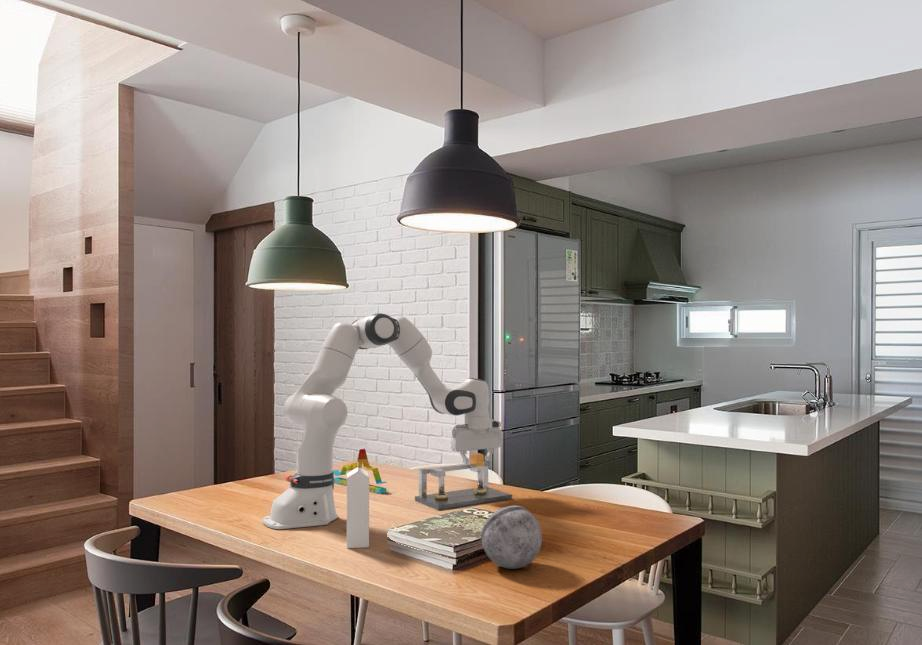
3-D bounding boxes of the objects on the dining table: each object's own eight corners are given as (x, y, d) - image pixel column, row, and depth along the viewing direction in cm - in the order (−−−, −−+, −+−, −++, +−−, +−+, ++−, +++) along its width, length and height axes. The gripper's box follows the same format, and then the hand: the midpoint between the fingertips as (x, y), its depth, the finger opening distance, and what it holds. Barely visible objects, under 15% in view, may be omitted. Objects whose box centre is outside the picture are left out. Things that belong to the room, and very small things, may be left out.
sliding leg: (478, 488, 243) (478, 455, 244) (469, 485, 248) (469, 453, 248) (485, 487, 245) (485, 454, 245) (476, 484, 250) (476, 452, 250)
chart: (330, 482, 272) (331, 444, 272) (337, 481, 274) (337, 443, 274) (379, 494, 250) (379, 453, 251) (386, 493, 253) (386, 452, 253)
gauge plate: (438, 510, 226) (438, 476, 226) (414, 500, 240) (414, 468, 240) (511, 498, 242) (511, 467, 243) (485, 490, 256) (485, 460, 256)
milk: (368, 541, 191) (369, 461, 192) (369, 547, 185) (369, 465, 186) (346, 542, 190) (347, 461, 191) (346, 548, 185) (347, 465, 185)
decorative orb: (521, 554, 179) (521, 496, 179) (554, 571, 166) (554, 508, 167) (471, 563, 172) (471, 503, 172) (501, 581, 159) (501, 516, 159)
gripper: (457, 426, 239) (457, 466, 239) (504, 422, 250) (504, 460, 250) (447, 424, 244) (447, 463, 244) (494, 420, 255) (494, 458, 255)
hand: (477, 462), depth 247 cm, fingers open, 8 cm apart
